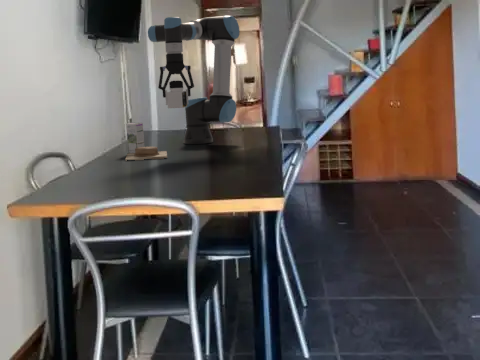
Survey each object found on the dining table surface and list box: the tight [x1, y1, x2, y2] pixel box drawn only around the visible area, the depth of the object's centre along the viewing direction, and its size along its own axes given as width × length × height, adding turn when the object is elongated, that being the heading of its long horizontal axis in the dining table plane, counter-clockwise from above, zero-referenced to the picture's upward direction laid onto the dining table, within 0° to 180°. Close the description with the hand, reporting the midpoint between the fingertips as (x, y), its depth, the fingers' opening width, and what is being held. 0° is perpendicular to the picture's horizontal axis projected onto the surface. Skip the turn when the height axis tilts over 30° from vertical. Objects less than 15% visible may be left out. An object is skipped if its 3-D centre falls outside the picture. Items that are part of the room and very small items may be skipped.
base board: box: [125, 146, 168, 162], centre depth 276 cm, size 18×18×4 cm
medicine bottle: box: [167, 80, 187, 109], centre depth 276 cm, size 7×7×12 cm
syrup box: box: [125, 122, 145, 153], centre depth 289 cm, size 6×6×14 cm
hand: (177, 104), depth 277 cm, fingers closed on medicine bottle, 8 cm apart
